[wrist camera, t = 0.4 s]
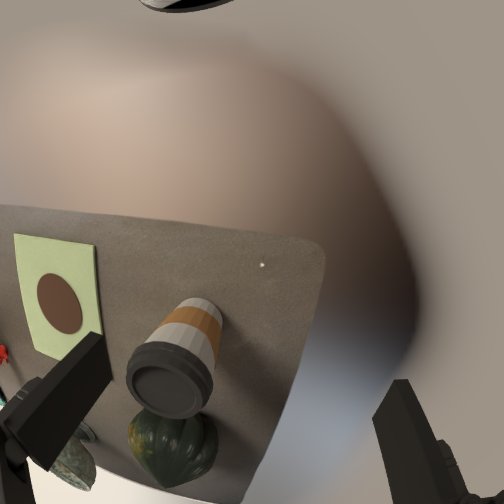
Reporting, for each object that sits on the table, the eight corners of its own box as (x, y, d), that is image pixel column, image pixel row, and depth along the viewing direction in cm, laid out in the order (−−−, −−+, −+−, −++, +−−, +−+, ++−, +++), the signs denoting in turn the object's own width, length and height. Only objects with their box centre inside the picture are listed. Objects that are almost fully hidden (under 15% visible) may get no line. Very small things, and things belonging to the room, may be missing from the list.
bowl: (36, 398, 46) (7, 431, 31) (75, 398, 43) (41, 442, 28) (80, 449, 50) (59, 483, 35) (126, 455, 47) (105, 499, 32)
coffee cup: (167, 286, 35) (112, 347, 20) (231, 291, 34) (206, 363, 20) (172, 340, 37) (131, 412, 22) (230, 346, 36) (211, 428, 22)
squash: (162, 390, 33) (112, 469, 24) (248, 437, 35) (203, 509, 26) (151, 383, 44) (112, 443, 36) (216, 422, 46) (181, 479, 38)
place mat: (15, 233, 35) (13, 234, 34) (94, 245, 34) (92, 246, 33) (36, 348, 41) (34, 349, 40) (112, 378, 40) (110, 381, 39)
